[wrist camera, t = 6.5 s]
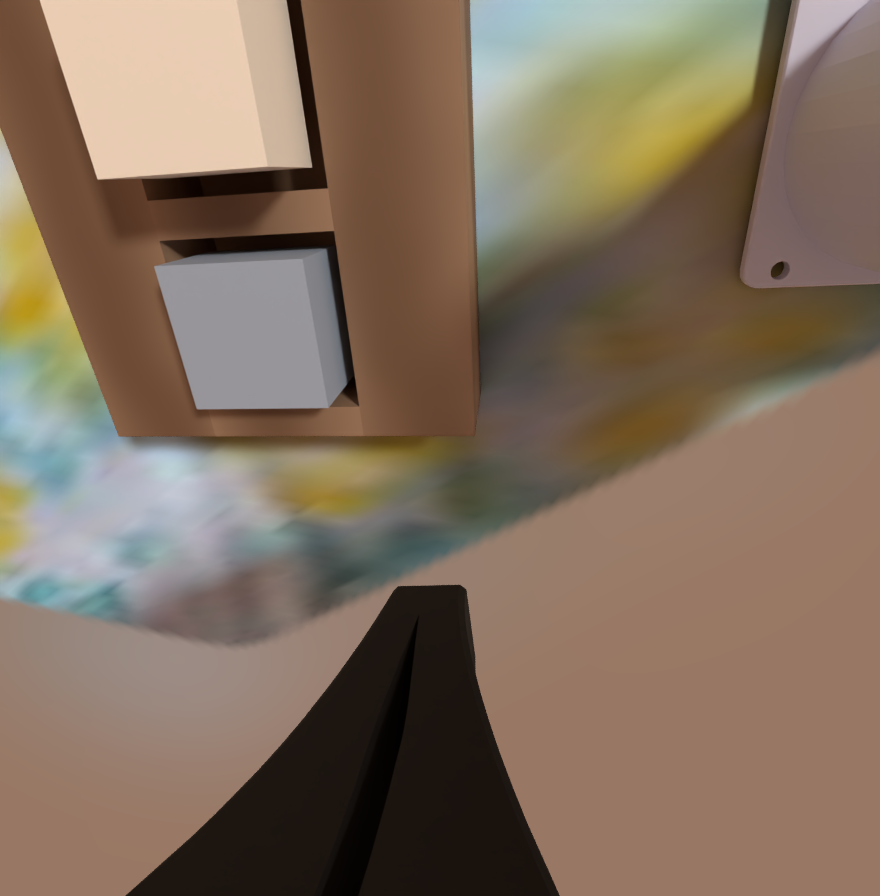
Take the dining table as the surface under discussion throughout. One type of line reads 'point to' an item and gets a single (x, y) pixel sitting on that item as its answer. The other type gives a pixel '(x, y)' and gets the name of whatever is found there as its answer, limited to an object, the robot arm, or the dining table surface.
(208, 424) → the brown slotted tray
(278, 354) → the grey block
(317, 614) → the dining table surface
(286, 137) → the ivory key
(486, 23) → the dining table surface
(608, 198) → the dining table surface
